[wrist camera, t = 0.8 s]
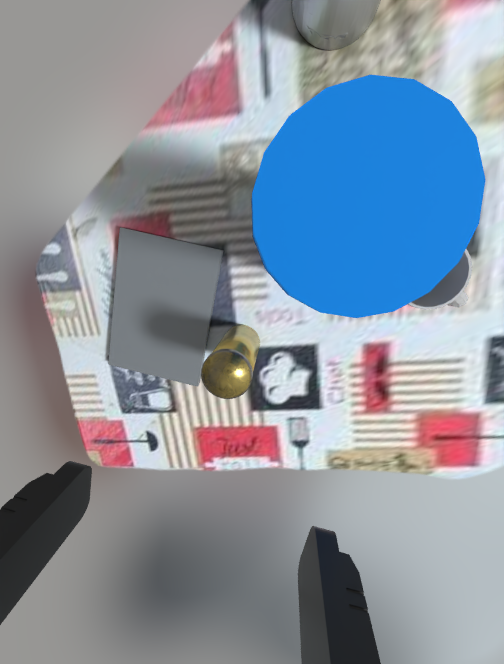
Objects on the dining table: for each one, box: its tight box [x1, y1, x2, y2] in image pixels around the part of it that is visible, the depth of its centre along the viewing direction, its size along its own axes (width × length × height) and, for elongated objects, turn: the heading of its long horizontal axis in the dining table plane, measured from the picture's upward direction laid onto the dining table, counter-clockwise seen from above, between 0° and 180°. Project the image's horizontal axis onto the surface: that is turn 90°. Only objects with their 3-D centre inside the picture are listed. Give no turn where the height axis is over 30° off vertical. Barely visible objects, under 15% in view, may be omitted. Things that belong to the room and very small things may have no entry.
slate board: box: [108, 227, 224, 386], centre depth 42 cm, size 20×14×1 cm
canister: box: [201, 325, 260, 399], centre depth 37 cm, size 5×5×12 cm
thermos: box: [252, 75, 485, 318], centre depth 26 cm, size 11×11×25 cm
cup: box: [408, 249, 472, 310], centre depth 33 cm, size 7×10×9 cm
